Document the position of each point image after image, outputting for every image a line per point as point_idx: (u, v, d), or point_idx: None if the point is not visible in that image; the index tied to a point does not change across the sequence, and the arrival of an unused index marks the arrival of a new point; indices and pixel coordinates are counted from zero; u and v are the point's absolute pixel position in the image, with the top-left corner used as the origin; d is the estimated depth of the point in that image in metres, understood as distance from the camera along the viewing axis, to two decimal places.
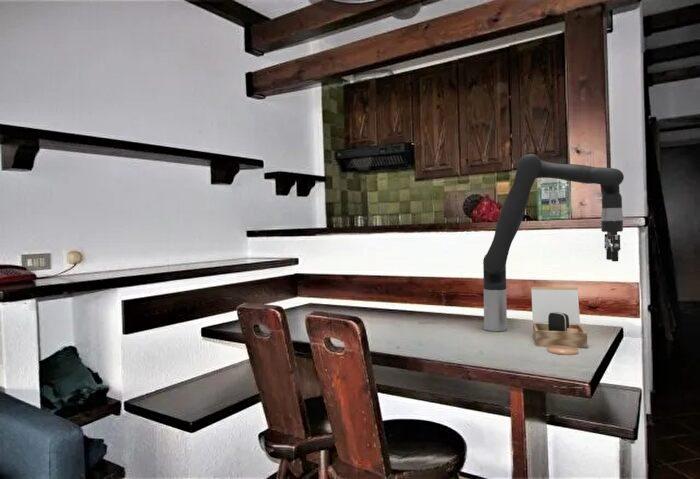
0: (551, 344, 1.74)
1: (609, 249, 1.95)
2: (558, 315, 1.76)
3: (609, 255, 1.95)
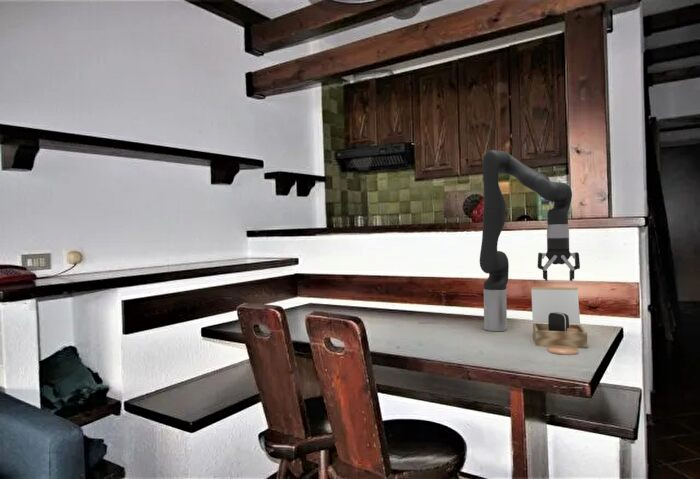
0: (551, 344, 1.74)
1: (546, 269, 1.79)
2: (558, 315, 1.76)
3: None
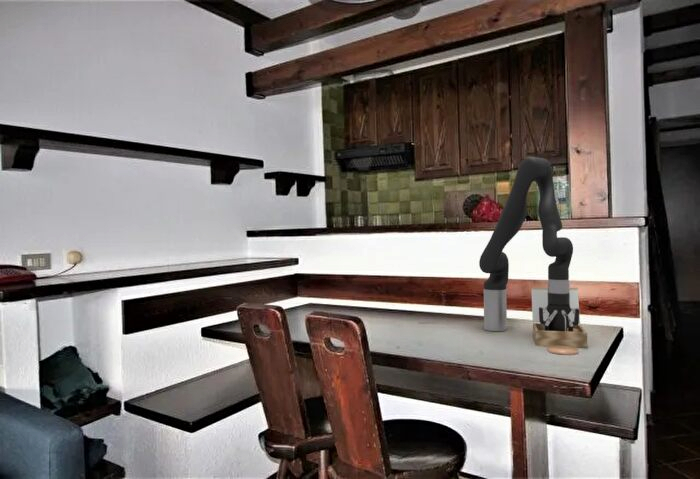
0: (551, 344, 1.74)
1: None
2: (558, 315, 1.76)
3: (548, 330, 1.79)
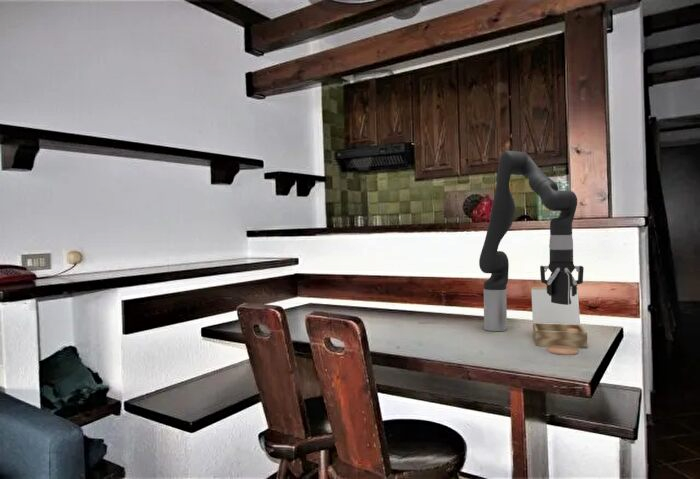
0: (551, 344, 1.74)
1: (550, 283, 1.68)
2: (561, 273, 1.65)
3: None
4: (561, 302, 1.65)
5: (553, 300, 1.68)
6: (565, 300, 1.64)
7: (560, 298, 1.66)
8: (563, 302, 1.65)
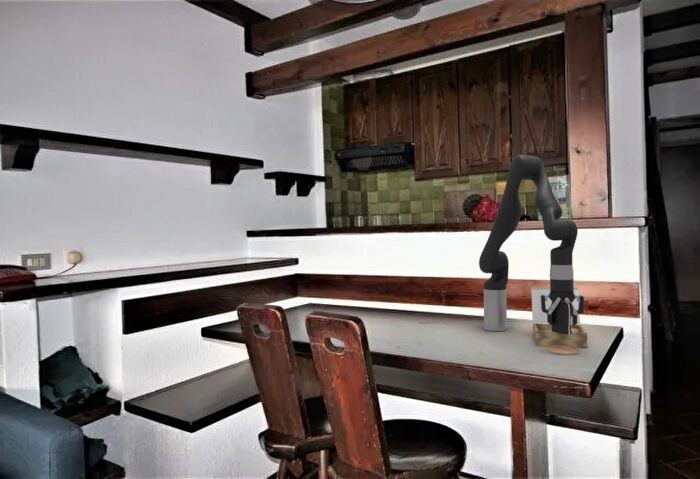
0: (551, 344, 1.74)
1: (551, 312, 1.68)
2: (562, 303, 1.65)
3: (551, 319, 1.68)
4: (562, 332, 1.65)
5: (554, 329, 1.68)
6: (566, 330, 1.64)
7: (561, 328, 1.66)
8: (564, 332, 1.65)
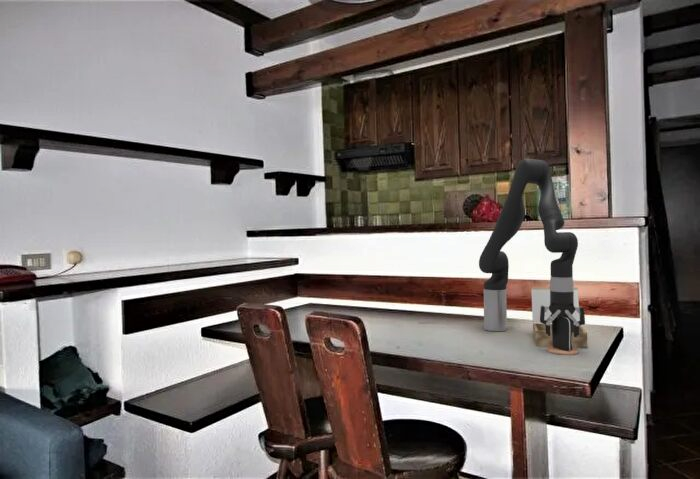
0: (551, 344, 1.74)
1: None
2: (562, 319, 1.65)
3: None
4: (562, 348, 1.66)
5: (554, 345, 1.69)
6: (566, 346, 1.64)
7: (561, 344, 1.66)
8: (564, 348, 1.65)
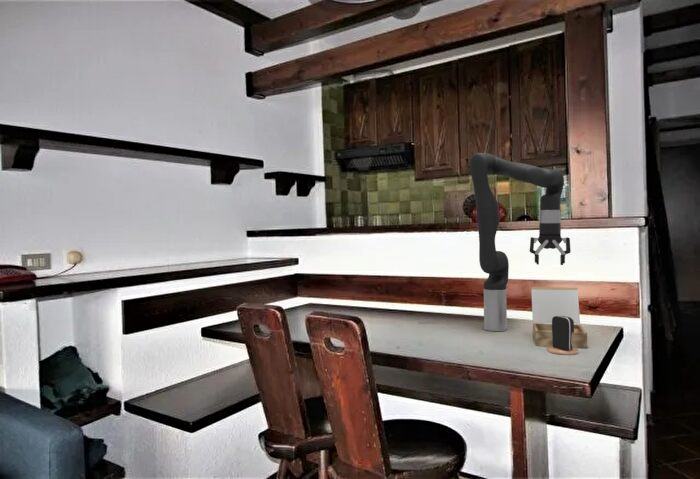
0: (551, 344, 1.74)
1: (538, 253, 1.84)
2: (562, 319, 1.65)
3: (538, 259, 1.84)
4: (562, 348, 1.66)
5: (554, 345, 1.69)
6: (566, 346, 1.64)
7: (561, 344, 1.66)
8: (564, 348, 1.65)
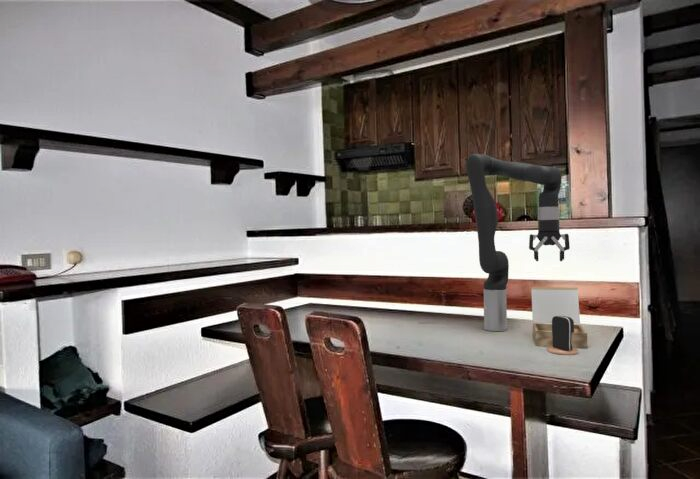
0: (551, 344, 1.74)
1: (537, 250, 1.86)
2: (562, 319, 1.65)
3: None
4: (562, 348, 1.66)
5: (554, 345, 1.69)
6: (566, 346, 1.64)
7: (561, 344, 1.66)
8: (564, 348, 1.65)
